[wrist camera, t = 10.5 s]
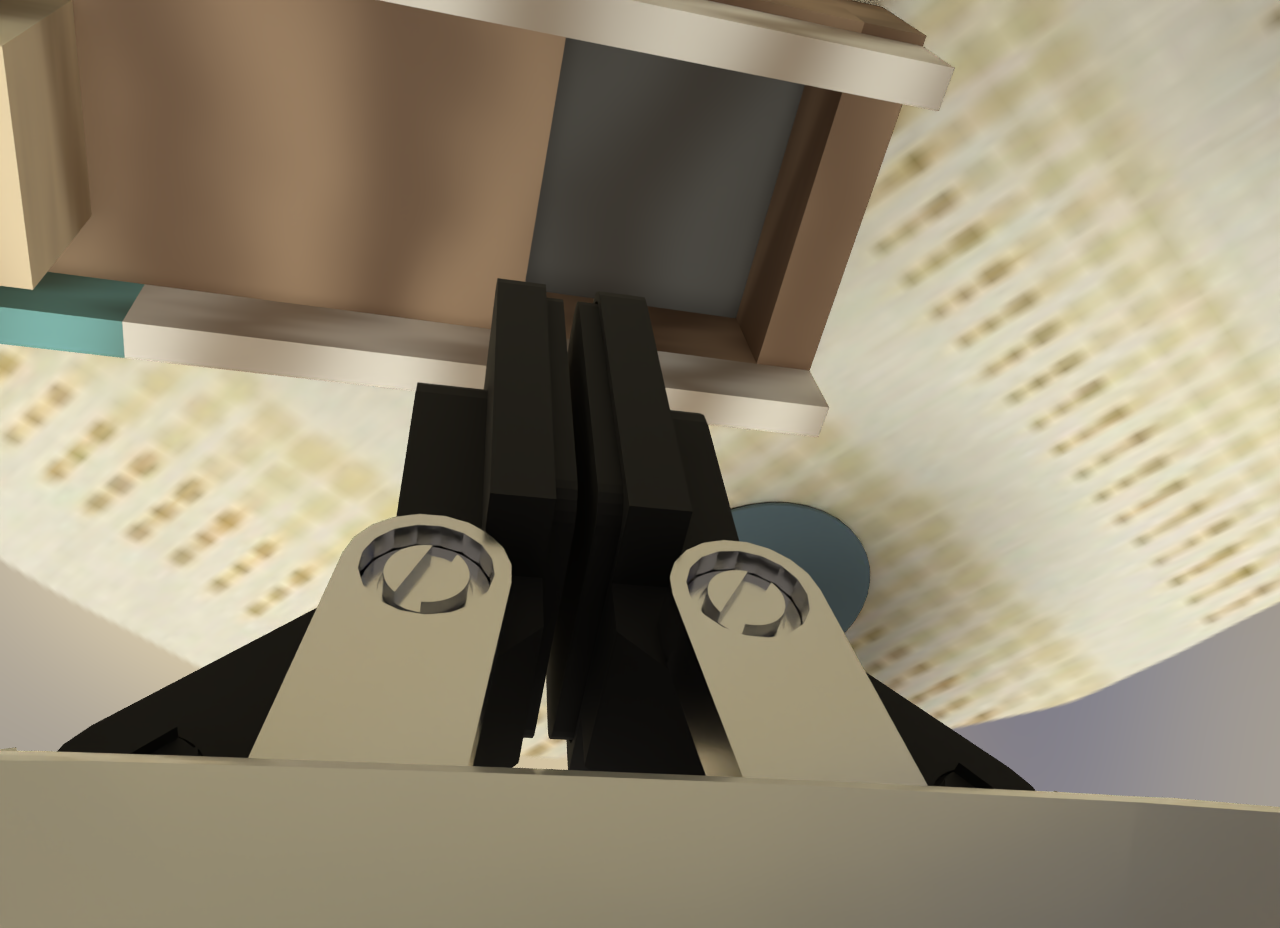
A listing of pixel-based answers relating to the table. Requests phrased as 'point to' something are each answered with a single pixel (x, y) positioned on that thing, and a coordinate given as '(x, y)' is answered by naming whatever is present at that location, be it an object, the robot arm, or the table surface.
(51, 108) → the maple block
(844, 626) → the cocktail glass
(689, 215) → the trap deck
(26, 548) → the table surface
